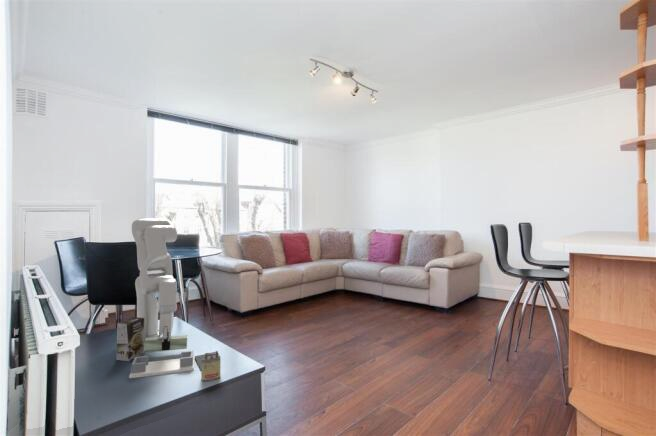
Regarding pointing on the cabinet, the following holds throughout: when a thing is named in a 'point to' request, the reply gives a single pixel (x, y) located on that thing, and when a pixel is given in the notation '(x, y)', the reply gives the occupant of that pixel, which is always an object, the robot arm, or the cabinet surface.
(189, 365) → the bracket board
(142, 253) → the robot arm
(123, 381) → the cabinet surface
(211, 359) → the worn yellow tin
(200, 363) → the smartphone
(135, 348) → the coffee box
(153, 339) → the rail
